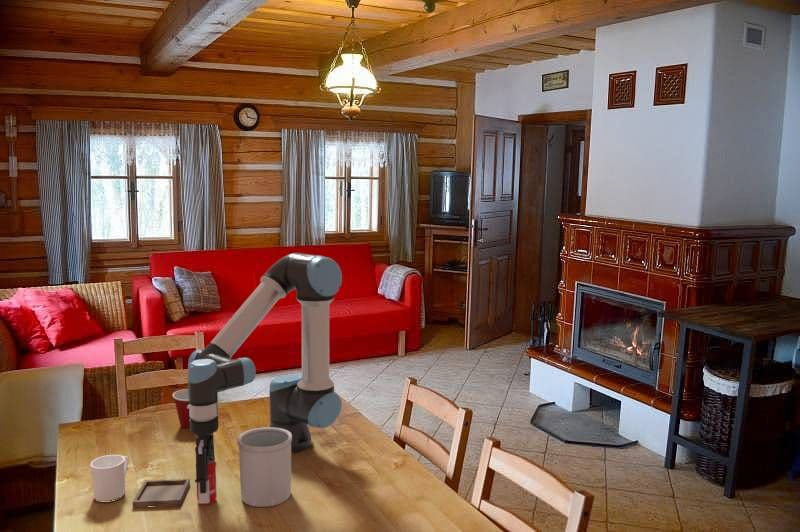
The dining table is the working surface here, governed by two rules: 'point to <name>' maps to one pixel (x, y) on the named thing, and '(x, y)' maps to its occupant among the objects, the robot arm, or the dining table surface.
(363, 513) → the dining table surface
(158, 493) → the tray
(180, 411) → the plastic cup
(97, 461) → the mug
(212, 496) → the beverage can
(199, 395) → the robot arm
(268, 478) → the utensil holder
